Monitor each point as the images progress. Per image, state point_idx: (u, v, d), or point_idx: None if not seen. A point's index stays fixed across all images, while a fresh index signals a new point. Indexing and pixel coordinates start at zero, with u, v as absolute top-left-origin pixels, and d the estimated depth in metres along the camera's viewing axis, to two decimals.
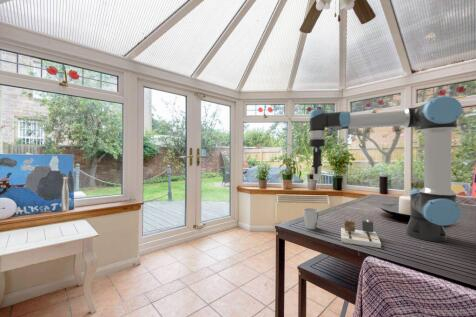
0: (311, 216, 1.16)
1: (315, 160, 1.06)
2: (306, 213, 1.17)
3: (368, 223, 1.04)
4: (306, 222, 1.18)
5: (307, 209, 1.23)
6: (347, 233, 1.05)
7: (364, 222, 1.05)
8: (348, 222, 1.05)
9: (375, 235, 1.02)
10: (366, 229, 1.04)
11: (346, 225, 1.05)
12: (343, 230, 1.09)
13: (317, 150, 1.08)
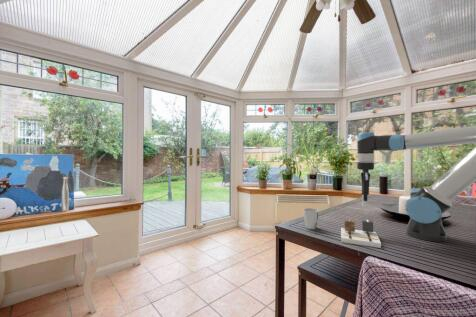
0: (311, 216, 1.16)
1: (365, 189, 1.08)
2: (306, 213, 1.17)
3: (368, 223, 1.04)
4: (306, 222, 1.18)
5: (307, 209, 1.23)
6: (347, 233, 1.05)
7: (364, 222, 1.05)
8: (348, 222, 1.05)
9: (375, 235, 1.02)
10: (366, 229, 1.04)
11: (346, 225, 1.05)
12: (343, 230, 1.09)
13: (368, 179, 1.07)
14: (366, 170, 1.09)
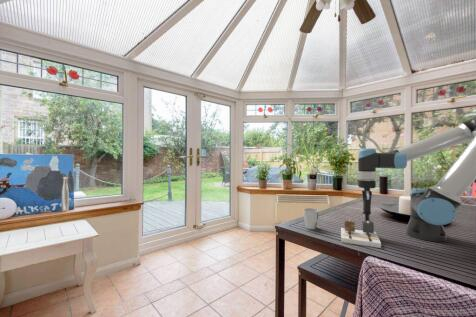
0: (311, 216, 1.16)
1: (367, 209, 1.03)
2: (306, 213, 1.17)
3: (368, 224, 1.03)
4: (306, 222, 1.18)
5: (307, 209, 1.23)
6: (347, 233, 1.05)
7: (364, 223, 1.03)
8: (348, 222, 1.05)
9: (375, 235, 1.02)
10: (366, 230, 1.03)
11: (346, 225, 1.05)
12: (343, 230, 1.09)
13: (369, 199, 1.01)
14: (367, 189, 1.03)
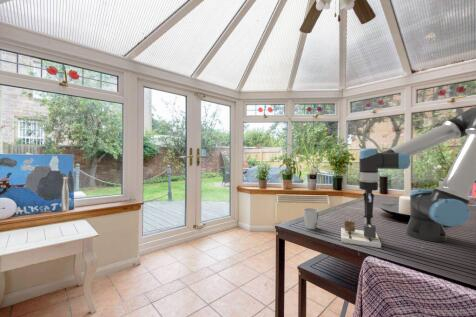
0: (311, 216, 1.16)
1: (369, 212, 0.98)
2: (306, 213, 1.17)
3: (370, 228, 0.97)
4: (306, 222, 1.18)
5: (307, 209, 1.23)
6: (347, 233, 1.05)
7: (366, 227, 0.98)
8: (348, 222, 1.05)
9: None
10: (368, 235, 0.97)
11: (346, 225, 1.05)
12: (343, 230, 1.09)
13: (371, 201, 0.96)
14: (369, 191, 0.98)
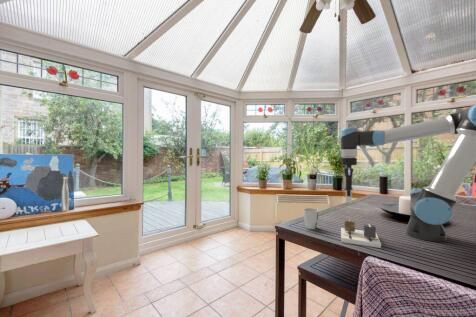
0: (311, 216, 1.16)
1: (348, 184, 1.09)
2: (306, 213, 1.17)
3: (370, 228, 0.97)
4: (306, 222, 1.18)
5: (307, 209, 1.23)
6: (347, 233, 1.05)
7: (366, 227, 0.98)
8: (348, 222, 1.05)
9: None
10: (368, 235, 0.97)
11: (346, 225, 1.05)
12: (343, 230, 1.09)
13: (350, 174, 1.07)
14: (349, 165, 1.09)
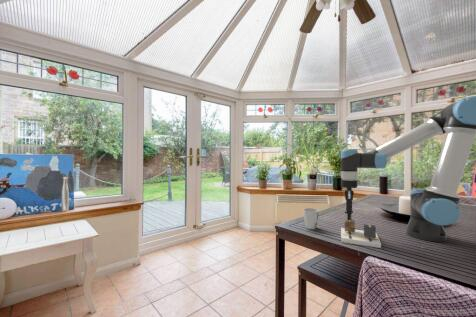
0: (311, 216, 1.16)
1: (348, 208, 1.05)
2: (306, 213, 1.17)
3: (370, 228, 0.97)
4: (306, 222, 1.18)
5: (307, 209, 1.23)
6: (347, 233, 1.05)
7: (366, 227, 0.98)
8: (348, 222, 1.05)
9: None
10: (368, 235, 0.97)
11: (346, 225, 1.05)
12: (343, 230, 1.09)
13: (350, 198, 1.03)
14: (349, 188, 1.05)
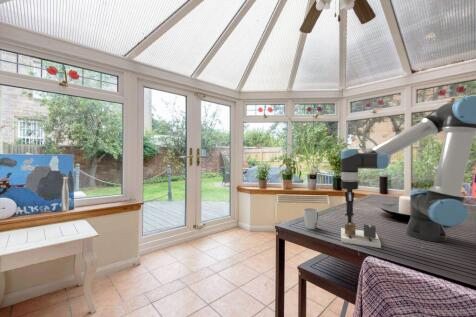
0: (311, 216, 1.16)
1: (349, 210, 1.01)
2: (306, 213, 1.17)
3: (370, 228, 0.97)
4: (306, 222, 1.18)
5: (307, 209, 1.23)
6: None
7: (366, 227, 0.98)
8: (348, 225, 1.01)
9: None
10: (368, 235, 0.97)
11: (346, 228, 1.01)
12: (343, 230, 1.09)
13: (351, 200, 0.99)
14: (350, 190, 1.01)
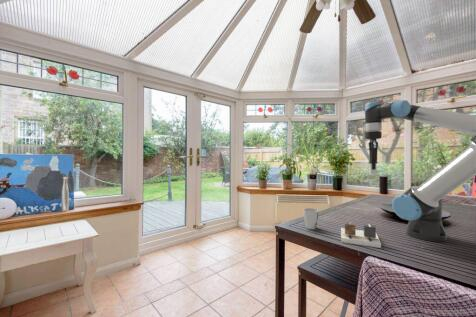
0: (311, 216, 1.16)
1: (374, 157, 1.11)
2: (306, 213, 1.17)
3: (370, 228, 0.97)
4: (306, 222, 1.18)
5: (307, 209, 1.23)
6: None
7: (366, 227, 0.98)
8: (348, 225, 1.01)
9: None
10: (368, 235, 0.97)
11: (346, 228, 1.01)
12: (343, 230, 1.09)
13: (376, 147, 1.09)
14: (374, 138, 1.11)
